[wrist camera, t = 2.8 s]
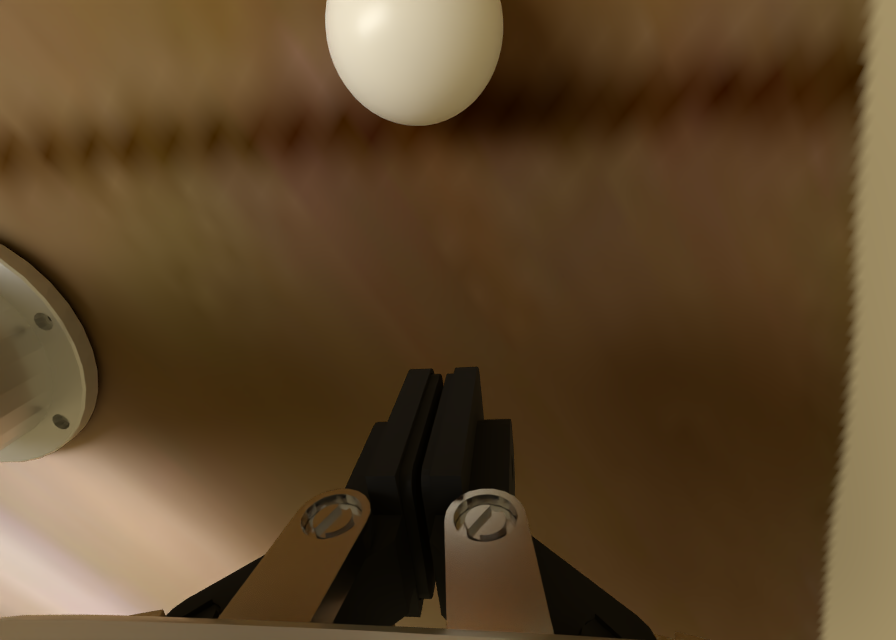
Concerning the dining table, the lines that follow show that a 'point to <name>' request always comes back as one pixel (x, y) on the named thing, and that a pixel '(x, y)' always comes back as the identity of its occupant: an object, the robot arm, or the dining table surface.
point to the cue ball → (415, 54)
